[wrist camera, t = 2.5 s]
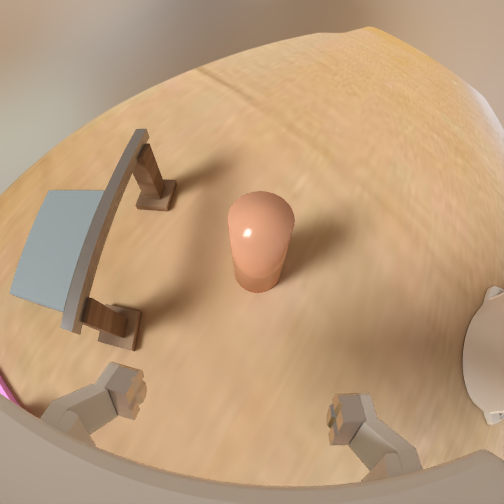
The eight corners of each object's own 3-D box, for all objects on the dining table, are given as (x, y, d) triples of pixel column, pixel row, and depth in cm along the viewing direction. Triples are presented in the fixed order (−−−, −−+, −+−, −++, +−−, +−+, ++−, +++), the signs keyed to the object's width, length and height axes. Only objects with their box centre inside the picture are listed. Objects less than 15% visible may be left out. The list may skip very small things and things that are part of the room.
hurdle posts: (176, 184, 33) (161, 136, 26) (134, 351, 25) (94, 338, 17) (147, 183, 33) (128, 137, 26) (101, 342, 25) (56, 326, 18)
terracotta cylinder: (281, 252, 29) (295, 195, 20) (278, 295, 27) (292, 251, 18) (237, 247, 29) (233, 188, 20) (231, 289, 28) (222, 244, 18)
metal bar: (149, 137, 26) (146, 128, 25) (80, 334, 17) (71, 331, 16) (139, 137, 26) (136, 129, 25) (68, 331, 17) (60, 327, 16)
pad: (106, 194, 33) (104, 190, 32) (67, 313, 26) (63, 311, 25) (51, 193, 33) (48, 190, 32) (13, 295, 26) (9, 293, 26)
